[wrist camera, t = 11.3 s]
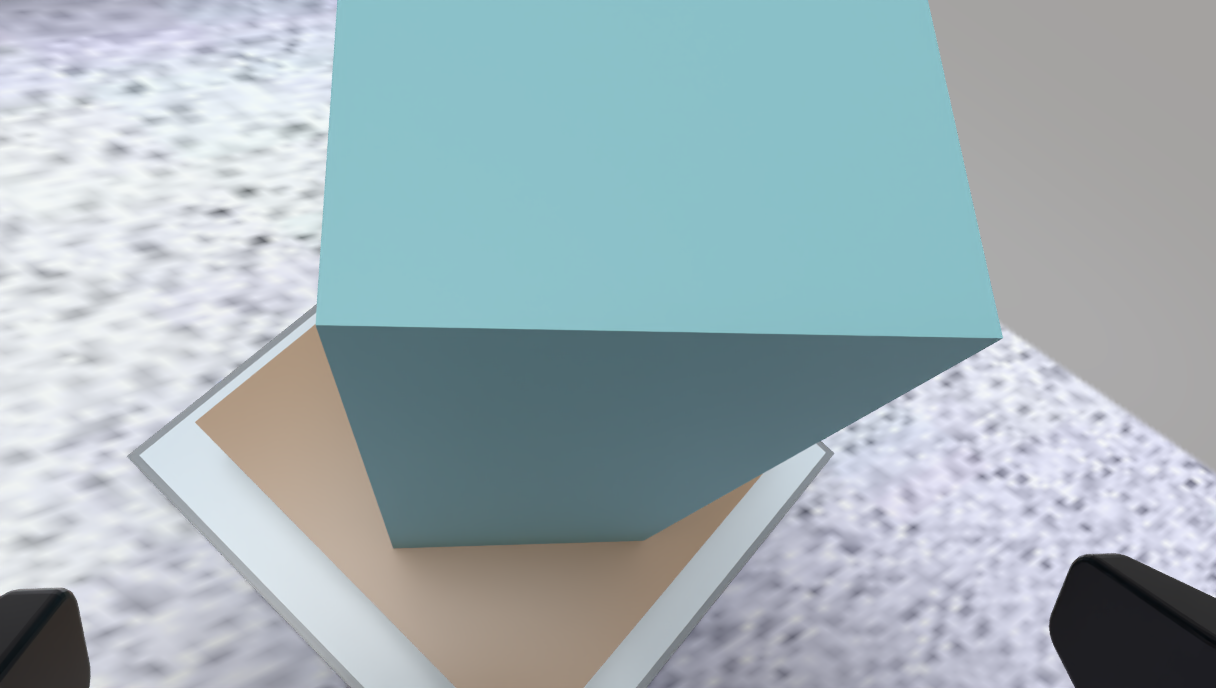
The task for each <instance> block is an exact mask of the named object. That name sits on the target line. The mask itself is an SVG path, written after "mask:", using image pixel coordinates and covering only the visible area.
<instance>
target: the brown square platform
mask: <svg viewBox="0 0 1216 688" xmlns="http://www.w3.org/2000/svg"><path fill="white" fill-rule="evenodd" d="M316 310H317V304H316V305H315V306H314V307H313V308H311V309H310V310H309V311H308V312H306V313H305V314H304V315H303V316H301V317H300V318H299V319H298V320H296V321H295V322H294V323H293V324H291V325H290V326H289V327H288V328H286V329H285V330H284V331H283V332H281V333H280V334H279V335H278V336H276V337H275V338H274V339H273V340H271V341H270V342H269V343H268V344H266V345H265V346H264V347H263V348H261V349H260V350H259V351H258V352H256V353H255V354H254V355H253V356H251V357H250V358H249V359H248V360H246V361H245V362H244V363H243V364H241V365H240V366H239V367H238V368H237V369H235V370H234V371H233V372H232V373H230V374H229V375H228V376H227V377H225V378H224V379H223V380H222V381H220V382H219V383H218V384H217V385H215V386H214V387H213V388H212V389H210V390H209V391H208V392H207V393H205V394H204V395H203V396H202V397H200V398H199V399H198V400H197V401H195V402H194V403H193V404H192V405H190V406H189V407H188V408H187V409H185V410H184V411H183V412H182V413H180V414H179V415H178V416H177V417H175V418H174V419H173V420H172V421H170V422H169V423H168V424H167V425H165V426H164V427H163V428H162V429H160V430H159V431H158V432H157V433H155V434H154V435H153V436H152V437H150V438H149V439H148V440H147V441H145V442H144V443H143V444H142V445H140V446H139V447H138V448H137V449H135V450H134V451H133V452H132V453H130V454H129V455H128V456H127V457H128V458H129V459H130V460H131V461H132V462H133V463H134V464H135V465H136V466H137V467H138V468H139V469H140V471H141V472H142V473H143V474H144V475H145V476H146V477H147V478H148V479H149V480H150V481H151V482H152V483H153V484H154V485H155V486H156V487H157V488H158V489H159V490H160V491H161V492H162V493H163V494H164V495H165V496H166V497H167V498H168V499H169V501H170V502H171V503H172V504H173V505H174V506H175V507H176V508H177V509H178V510H179V511H180V512H181V513H182V514H183V515H184V516H185V517H186V518H187V519H188V520H189V521H190V522H191V523H192V524H193V525H194V526H195V527H196V528H197V530H198V531H199V532H200V533H201V534H202V535H203V536H204V537H205V538H206V539H207V540H208V541H209V542H210V543H211V544H212V545H213V546H214V547H215V548H216V549H217V550H218V551H219V552H220V553H221V554H222V555H223V556H224V557H225V558H226V560H227V561H228V562H229V563H230V564H231V565H232V566H233V567H234V568H235V569H236V570H237V571H238V572H239V573H240V574H241V575H242V576H243V577H244V578H245V579H246V580H247V581H248V582H249V583H250V584H251V585H252V586H253V587H254V589H255V590H256V591H257V592H258V593H259V594H260V595H261V596H262V597H263V598H264V599H265V600H266V601H267V602H268V603H269V604H270V605H271V606H272V607H273V608H274V609H275V610H276V611H277V612H278V613H279V614H280V615H281V616H282V617H283V619H284V620H285V621H286V622H287V623H288V624H289V625H290V626H291V627H292V628H293V629H294V630H295V631H296V632H297V633H298V634H299V635H300V636H301V637H302V638H303V639H304V640H305V641H306V642H307V643H308V644H309V645H310V646H311V648H312V649H313V650H314V651H315V652H316V653H317V654H318V655H319V656H320V657H321V658H322V659H323V660H324V661H325V662H326V663H327V664H328V665H329V666H330V667H331V668H332V669H333V670H334V671H335V672H336V673H337V674H338V675H339V676H340V678H341V679H342V680H343V681H344V682H345V683H346V684H347V685H348V686H349V687H350V688H646V687H647V686H648V685H649V684H650V682H651V681H652V680H653V679H654V677H655V676H656V675H657V674H658V672H659V671H660V670H661V669H662V667H663V666H664V665H665V664H666V663H667V661H668V660H669V659H670V658H671V656H672V655H673V654H674V653H675V651H676V650H677V649H678V648H679V646H680V645H681V644H682V643H683V641H684V640H685V639H686V638H687V636H688V635H689V634H690V633H691V631H692V630H693V629H694V628H695V626H696V625H697V624H698V623H699V621H700V620H701V619H702V618H703V616H704V615H705V614H706V613H707V611H708V610H709V609H710V608H711V606H712V605H713V604H714V603H715V601H716V600H717V599H718V598H719V596H720V595H721V594H722V593H723V591H724V590H725V589H726V588H727V587H728V585H729V584H730V583H731V582H732V580H733V579H734V578H735V577H736V575H737V574H738V573H739V572H740V570H741V569H742V568H743V567H744V565H745V564H746V563H747V562H748V560H749V559H750V558H751V557H752V555H753V554H754V553H755V552H756V550H757V549H758V548H759V547H760V545H761V544H762V543H763V542H764V540H765V539H766V538H767V537H768V535H769V534H770V533H771V532H772V530H773V529H774V528H775V527H776V525H777V524H778V523H779V522H780V520H781V519H782V518H783V517H784V516H785V514H786V513H787V512H788V511H789V509H790V508H791V507H792V506H793V504H794V503H795V502H796V501H797V499H798V498H799V497H800V496H801V494H802V493H803V492H804V491H805V489H806V488H807V487H808V486H809V484H810V483H811V482H812V481H813V479H814V478H815V477H816V476H817V474H818V473H819V472H820V471H821V469H822V468H823V467H824V466H825V464H826V463H827V462H828V461H829V459H830V458H831V457H832V456H833V454H834V453H833V452H832V451H831V450H830V449H829V448H828V447H827V446H826V445H825V444H824V443H823V442H821V441H820V442H818V443H816V444H814V445H813V446H811V447H809V448H807V449H806V450H804V451H802V452H800V453H798V454H797V455H795V456H793V457H791V458H790V459H788V460H786V461H784V462H782V463H781V464H779V465H777V466H775V467H774V468H772V469H770V470H768V471H767V472H765V473H763V474H761V475H759V476H758V477H756V478H754V479H752V480H751V481H749V482H747V483H745V484H743V485H742V486H740V487H738V488H736V489H735V490H733V491H731V492H729V493H727V494H726V495H724V496H722V497H720V498H719V499H717V500H715V501H713V502H712V503H710V504H708V505H706V506H704V507H703V508H701V509H699V510H697V511H696V512H694V513H692V514H690V515H688V516H687V517H685V518H683V519H681V520H680V521H678V522H676V523H674V524H672V525H671V526H669V527H667V528H665V529H664V530H662V531H660V532H658V533H657V534H655V535H653V536H651V537H649V538H648V539H646V540H644V541H621V542H588V543H555V544H522V545H489V546H456V547H423V548H393V546H392V544H391V541H390V538H389V535H388V532H387V529H386V526H385V523H384V521H383V518H382V515H381V512H380V509H379V506H378V503H377V500H376V498H375V495H374V492H373V489H372V486H371V483H370V480H369V477H368V475H367V472H366V469H365V466H364V463H363V460H362V457H361V455H360V452H359V449H358V446H357V443H356V440H355V437H354V434H353V432H352V429H351V426H350V423H349V420H348V417H347V414H346V411H345V409H344V406H343V403H342V400H341V397H340V394H339V391H338V388H337V386H336V383H335V380H334V377H333V374H332V371H331V368H330V365H329V363H328V360H327V357H326V354H325V351H324V348H323V345H322V342H321V340H320V337H319V334H318V331H317V328H316Z"/></svg>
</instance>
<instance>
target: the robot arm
mask: <svg viewBox="0 0 1216 688" xmlns="http://www.w3.org/2000/svg"><path fill="white" fill-rule="evenodd" d="M1049 631H1050V636H1051V640H1052V643H1053V645H1054V647H1055V649H1056V651H1057V653H1058V655H1059V657H1060V659H1061V661H1062V663H1063V665H1064V667H1065V669H1066V671H1067V673H1068V675H1069V677H1070V679H1071V681H1072V683H1073V685H1074V686H1075V688H1216V598H1214V597H1212V596H1210V595H1208V594H1206V593H1204V592H1202V591H1200V590H1198V589H1195V588H1193V587H1191V586H1189V585H1187V584H1185V583H1183V582H1181V581H1179V580H1176V579H1174V578H1172V577H1170V576H1168V575H1166V574H1164V573H1162V572H1160V571H1157V570H1155V569H1153V568H1151V567H1149V566H1147V565H1145V564H1143V563H1141V562H1138V561H1136V560H1134V559H1132V558H1130V557H1128V556H1125V555H1121V554H1116V553H1107V554H1086V555H1082V556H1079V557H1078V558H1077V559H1076V560H1075V561H1074V562H1073V563H1072V565H1071V566H1070V569H1069V571H1068V573H1067V576H1066V578H1065V581H1064V583H1063V586H1062V588H1061V591H1060V593H1059V596H1058V598H1057V601H1056V603H1055V606H1054V608H1053V610H1052V613H1051V616H1050V620H1049ZM89 686H90V662H89V657H88V652H87V647H86V642H85V637H84V632H83V627H82V622H81V617H80V612H79V607H78V603H77V600H76V598H75V596H74V595H73V593H72V592H71V591H69V590H67V589H65V588H37V589H18V590H13V591H10V592H7V593H6V594H4V595H2V596H0V688H89Z"/></svg>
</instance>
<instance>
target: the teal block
mask: <svg viewBox="0 0 1216 688" xmlns="http://www.w3.org/2000/svg"><path fill="white" fill-rule="evenodd" d="M316 328H317V331H318V334H319V337H320V340H321V342H322V345H323V348H324V351H325V354H326V357H327V360H328V363H329V365H330V368H331V371H332V374H333V377H334V380H335V383H336V386H337V388H338V391H339V394H340V397H341V400H342V403H343V406H344V409H345V411H346V414H347V417H348V420H349V423H350V426H351V429H352V432H353V434H354V437H355V440H356V443H357V446H358V449H359V452H360V455H361V457H362V460H363V463H364V466H365V469H366V472H367V475H368V477H369V480H370V483H371V486H372V489H373V492H374V495H375V498H376V500H377V503H378V506H379V509H380V512H381V515H382V518H383V521H384V523H385V526H386V529H387V532H388V535H389V538H390V541H391V544H392V546H393V548H423V547H456V546H489V545H522V544H555V543H588V542H621V541H644V540H646V539H648V538H649V537H651V536H653V535H655V534H657V533H658V532H660V531H662V530H664V529H665V528H667V527H669V526H671V525H672V524H674V523H676V522H678V521H680V520H681V519H683V518H685V517H687V516H688V515H690V514H692V513H694V512H696V511H697V510H699V509H701V508H703V507H704V506H706V505H708V504H710V503H712V502H713V501H715V500H717V499H719V498H720V497H722V496H724V495H726V494H727V493H729V492H731V491H733V490H735V489H736V488H738V487H740V486H742V485H743V484H745V483H747V482H749V481H751V480H752V479H754V478H756V477H758V476H759V475H761V474H763V473H765V472H767V471H768V470H770V469H772V468H774V467H775V466H777V465H779V464H781V463H782V462H784V461H786V460H788V459H790V458H791V457H793V456H795V455H797V454H798V453H800V452H802V451H804V450H806V449H807V448H809V447H811V446H813V445H814V444H816V443H818V442H820V441H822V440H823V439H825V438H827V437H829V436H830V435H832V434H834V433H836V432H837V431H839V430H841V429H843V428H845V427H846V426H848V425H850V424H852V423H853V422H855V421H857V420H859V419H861V418H862V417H864V416H866V415H868V414H869V413H871V412H873V411H875V410H877V409H878V408H880V407H882V406H884V405H885V404H887V403H889V402H891V401H892V400H894V399H896V398H898V397H900V396H901V395H903V394H905V393H907V392H908V391H910V390H912V389H914V388H916V387H917V386H919V385H921V384H923V383H924V382H926V381H928V380H930V379H931V378H933V377H935V376H937V375H939V374H940V373H942V372H944V371H946V370H947V369H949V368H951V367H953V366H955V365H956V364H958V363H960V362H962V361H963V360H965V359H967V358H969V357H971V356H972V355H974V354H976V353H978V352H979V351H981V350H983V349H985V348H986V347H988V346H990V345H992V344H994V343H995V342H997V341H999V340H1001V339H1002V338H1003V337H1002V332H1001V328H1000V323H999V319H998V314H997V310H996V305H995V301H994V296H993V292H992V288H991V283H990V278H989V274H988V269H987V265H986V260H985V256H984V252H983V247H982V242H981V238H980V233H979V229H978V225H977V220H976V215H975V211H974V206H973V202H972V197H971V193H970V188H969V184H968V179H967V175H966V170H965V166H964V161H963V157H962V152H961V148H960V143H959V139H958V135H957V130H956V126H955V121H954V116H953V112H952V107H951V103H950V98H949V94H948V89H947V85H946V81H945V76H944V71H943V67H942V62H941V58H940V53H939V49H938V44H937V40H936V35H935V31H934V26H933V22H932V18H931V13H930V8H929V4H928V0H337V14H336V29H335V44H334V59H333V73H332V88H331V103H330V118H329V133H328V147H327V162H326V177H325V192H324V206H323V221H322V236H321V251H320V265H319V280H318V295H317V310H316Z"/></svg>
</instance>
